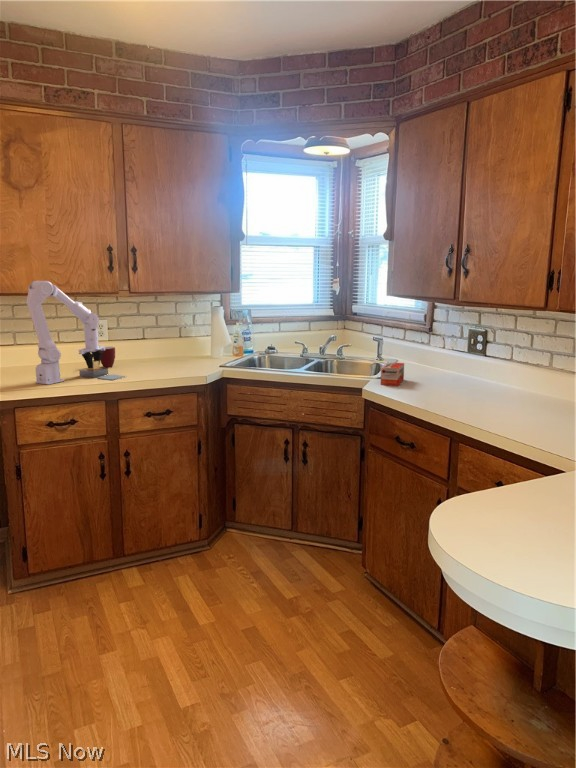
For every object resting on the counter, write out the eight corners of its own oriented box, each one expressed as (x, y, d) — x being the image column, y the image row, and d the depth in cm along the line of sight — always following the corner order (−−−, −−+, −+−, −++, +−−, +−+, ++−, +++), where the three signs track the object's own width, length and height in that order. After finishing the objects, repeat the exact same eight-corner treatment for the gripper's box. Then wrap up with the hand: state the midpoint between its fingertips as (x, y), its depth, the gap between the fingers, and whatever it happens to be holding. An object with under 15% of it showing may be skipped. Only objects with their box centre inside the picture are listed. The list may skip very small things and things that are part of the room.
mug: (105, 364, 286) (104, 345, 284) (120, 365, 285) (119, 346, 283) (96, 368, 276) (95, 348, 274) (112, 368, 275) (110, 349, 273)
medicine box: (386, 378, 252) (386, 361, 251) (404, 380, 249) (404, 362, 248) (380, 385, 238) (380, 367, 237) (398, 386, 236) (399, 368, 234)
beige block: (94, 376, 255) (93, 361, 254) (88, 376, 257) (87, 361, 255) (99, 375, 258) (98, 360, 257) (94, 374, 260) (93, 360, 258)
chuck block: (94, 378, 251) (93, 371, 251) (79, 376, 255) (79, 370, 255) (108, 374, 259) (108, 368, 259) (94, 373, 263) (93, 367, 263)
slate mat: (112, 380, 247) (112, 379, 247) (97, 378, 251) (97, 377, 250) (126, 376, 255) (126, 376, 254) (111, 375, 258) (111, 374, 258)
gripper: (85, 340, 246) (88, 370, 248) (109, 337, 258) (111, 365, 261) (74, 339, 249) (76, 369, 251) (98, 336, 261) (100, 364, 264)
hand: (93, 367), depth 256 cm, fingers open, 4 cm apart
